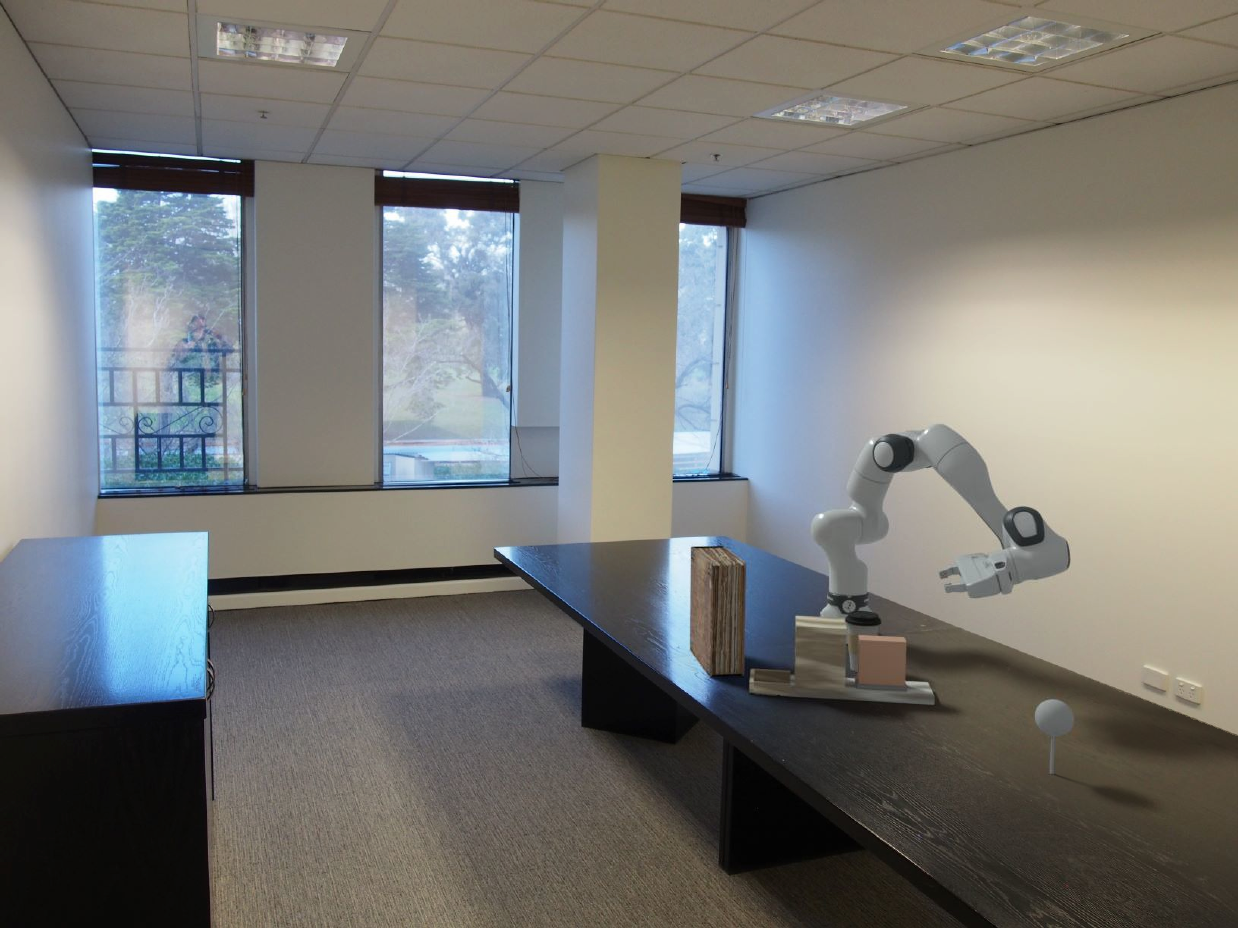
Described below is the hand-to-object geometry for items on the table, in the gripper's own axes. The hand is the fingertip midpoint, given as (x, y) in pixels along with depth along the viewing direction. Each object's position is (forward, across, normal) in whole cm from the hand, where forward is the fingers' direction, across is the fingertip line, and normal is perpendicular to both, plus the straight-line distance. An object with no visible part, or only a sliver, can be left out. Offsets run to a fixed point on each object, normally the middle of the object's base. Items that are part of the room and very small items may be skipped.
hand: (942, 581), depth 241 cm
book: (+62, -11, +13) cm, 65 cm away
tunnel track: (+31, +7, +19) cm, 37 cm away
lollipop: (-9, +49, +25) cm, 56 cm away
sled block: (+21, +7, +20) cm, 30 cm away
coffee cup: (+25, -13, +24) cm, 37 cm away
